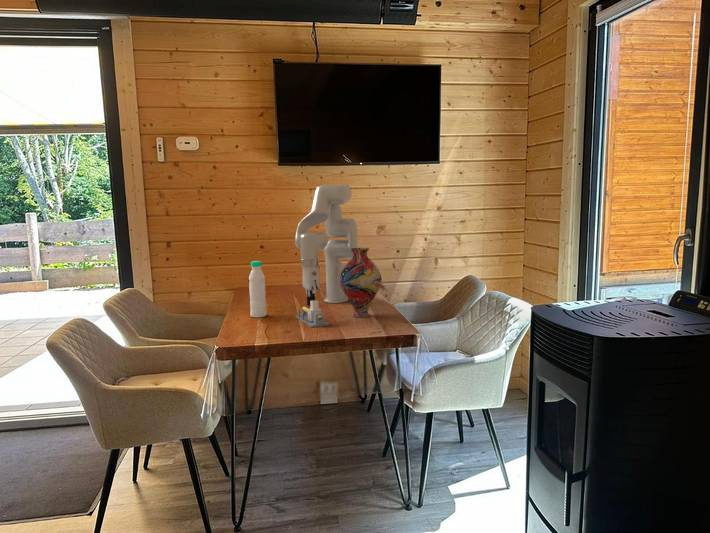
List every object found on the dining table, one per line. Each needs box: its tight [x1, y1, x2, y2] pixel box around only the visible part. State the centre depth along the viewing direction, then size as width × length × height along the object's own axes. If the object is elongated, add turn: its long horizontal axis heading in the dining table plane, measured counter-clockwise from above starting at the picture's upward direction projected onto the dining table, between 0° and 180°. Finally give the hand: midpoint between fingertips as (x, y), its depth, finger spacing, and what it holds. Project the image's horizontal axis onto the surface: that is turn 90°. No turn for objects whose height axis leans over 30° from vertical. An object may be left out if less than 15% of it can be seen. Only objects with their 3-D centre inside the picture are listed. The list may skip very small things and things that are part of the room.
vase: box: [339, 247, 383, 318], centre depth 213 cm, size 19×19×30 cm
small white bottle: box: [308, 299, 322, 321], centre depth 203 cm, size 4×5×8 cm
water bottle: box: [248, 260, 267, 318], centre depth 216 cm, size 7×7×25 cm
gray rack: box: [295, 306, 330, 328], centre depth 206 cm, size 20×8×5 cm, turn 25°
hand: (311, 305), depth 206 cm, fingers closed
